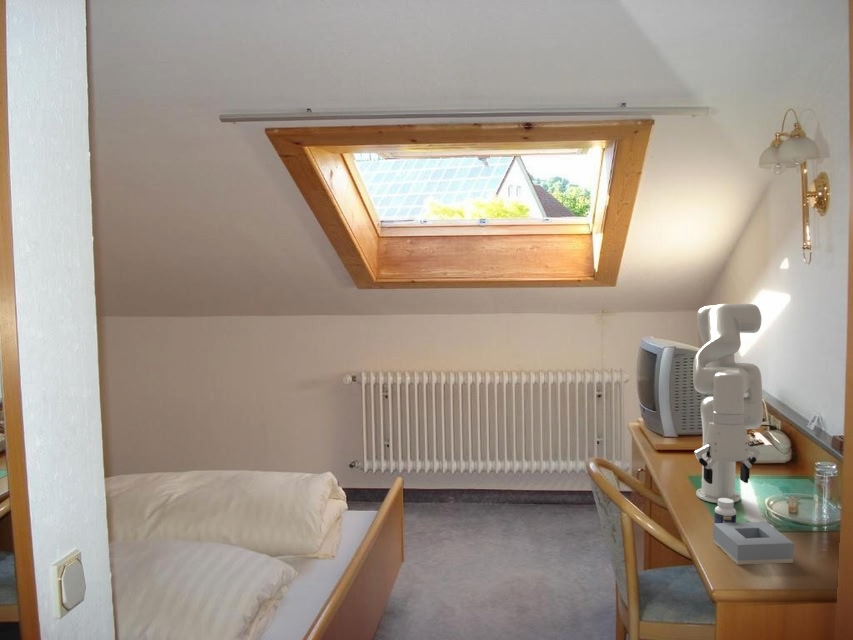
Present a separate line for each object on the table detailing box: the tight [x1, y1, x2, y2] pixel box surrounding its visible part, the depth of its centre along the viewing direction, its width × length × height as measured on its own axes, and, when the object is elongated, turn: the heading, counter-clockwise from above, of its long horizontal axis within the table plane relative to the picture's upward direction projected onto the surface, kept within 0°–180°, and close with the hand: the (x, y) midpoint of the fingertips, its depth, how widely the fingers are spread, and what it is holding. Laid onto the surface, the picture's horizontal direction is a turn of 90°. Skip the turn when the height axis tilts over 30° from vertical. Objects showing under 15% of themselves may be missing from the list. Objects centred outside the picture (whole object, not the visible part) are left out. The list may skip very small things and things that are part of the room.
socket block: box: [712, 521, 795, 566], centre depth 189 cm, size 14×14×5 cm
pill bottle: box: [713, 498, 737, 523], centre depth 200 cm, size 5×5×10 cm
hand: (726, 481), depth 198 cm, fingers open, 9 cm apart
